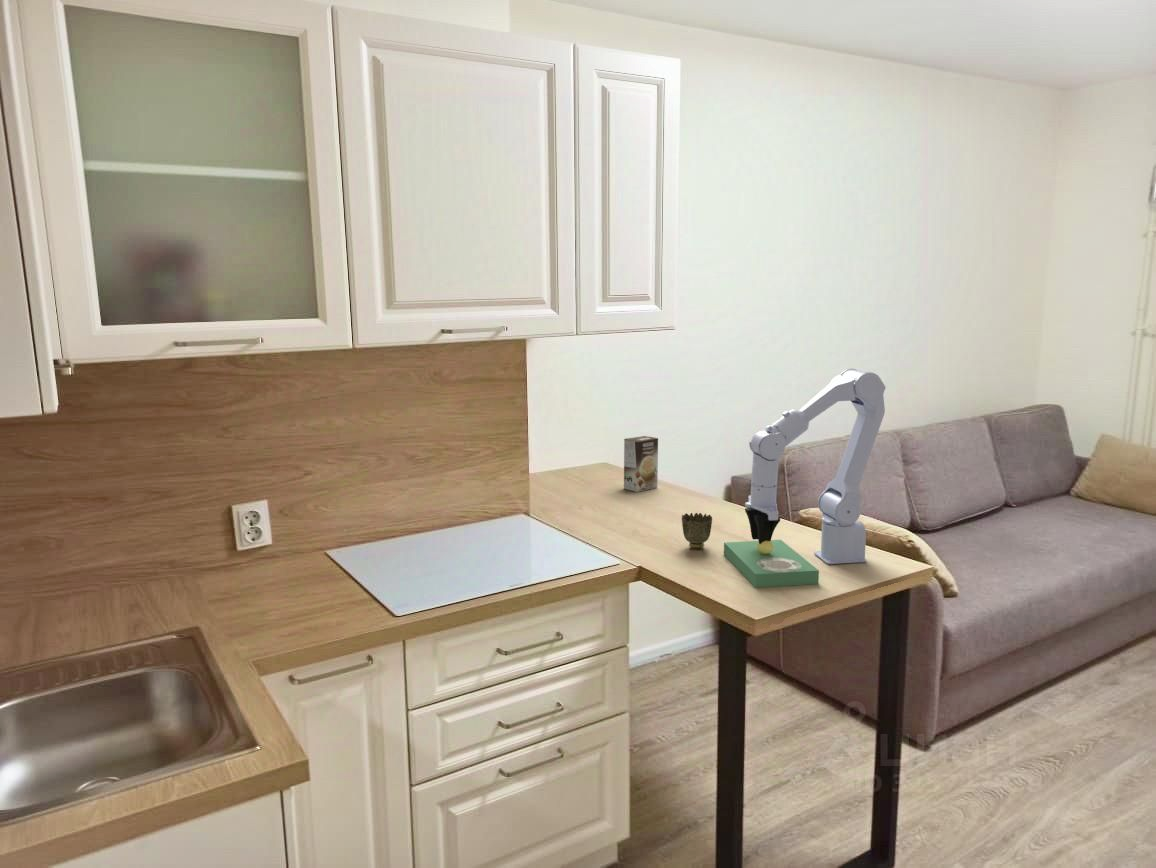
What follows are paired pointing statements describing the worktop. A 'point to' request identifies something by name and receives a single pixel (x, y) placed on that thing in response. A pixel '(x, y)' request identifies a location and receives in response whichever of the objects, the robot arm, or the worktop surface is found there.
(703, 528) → the cup
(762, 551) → the ball
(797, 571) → the green rectangular slab
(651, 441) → the coffee box
